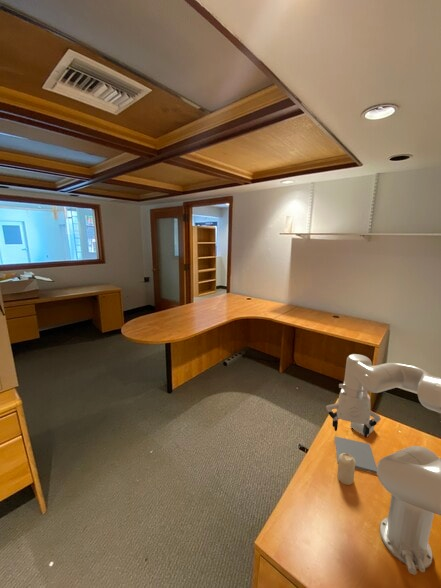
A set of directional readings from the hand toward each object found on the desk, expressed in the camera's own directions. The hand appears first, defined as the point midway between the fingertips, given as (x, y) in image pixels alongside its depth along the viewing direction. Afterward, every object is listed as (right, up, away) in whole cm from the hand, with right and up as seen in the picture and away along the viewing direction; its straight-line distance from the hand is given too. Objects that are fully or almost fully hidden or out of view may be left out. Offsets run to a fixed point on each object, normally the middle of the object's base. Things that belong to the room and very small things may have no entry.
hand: (349, 431), depth 91 cm
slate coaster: (+9, -18, +14) cm, 24 cm away
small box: (+21, -15, +29) cm, 38 cm away
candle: (0, -20, +4) cm, 20 cm away
